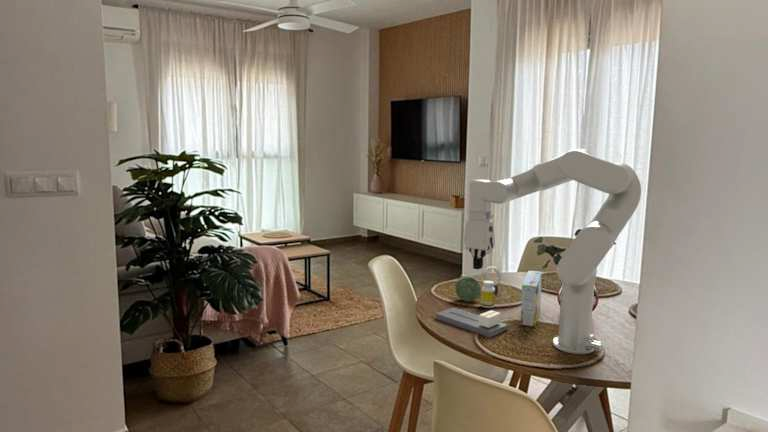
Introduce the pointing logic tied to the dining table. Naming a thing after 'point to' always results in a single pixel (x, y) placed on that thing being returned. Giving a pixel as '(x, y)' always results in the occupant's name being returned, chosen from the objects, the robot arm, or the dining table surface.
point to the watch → (497, 275)
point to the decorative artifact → (467, 288)
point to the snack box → (531, 298)
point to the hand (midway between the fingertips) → (477, 268)
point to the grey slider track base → (469, 322)
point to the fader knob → (489, 318)
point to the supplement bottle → (487, 294)
